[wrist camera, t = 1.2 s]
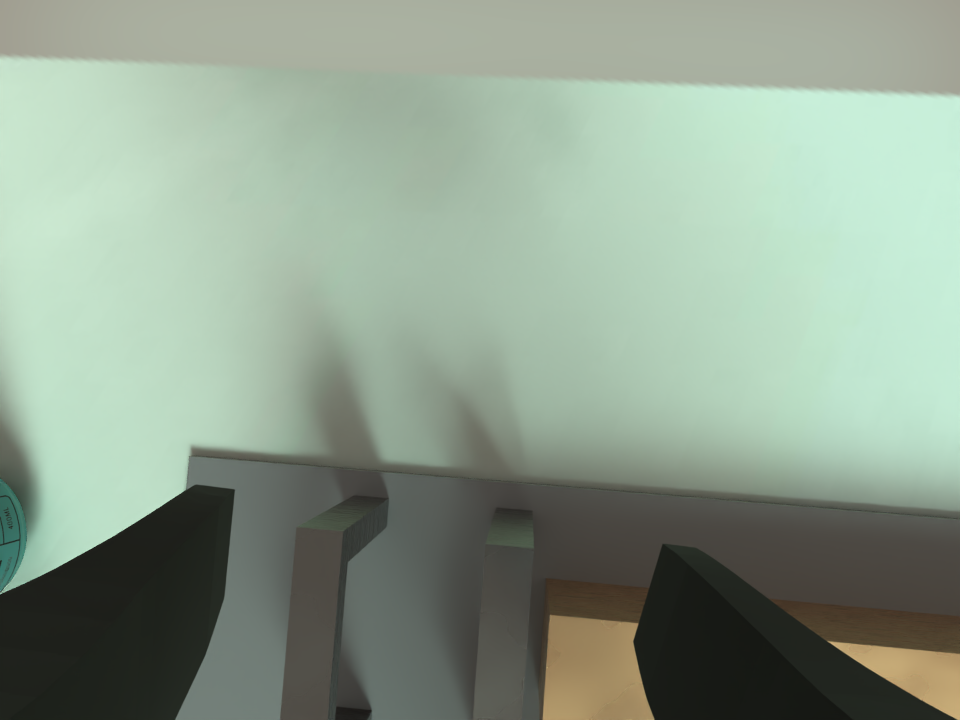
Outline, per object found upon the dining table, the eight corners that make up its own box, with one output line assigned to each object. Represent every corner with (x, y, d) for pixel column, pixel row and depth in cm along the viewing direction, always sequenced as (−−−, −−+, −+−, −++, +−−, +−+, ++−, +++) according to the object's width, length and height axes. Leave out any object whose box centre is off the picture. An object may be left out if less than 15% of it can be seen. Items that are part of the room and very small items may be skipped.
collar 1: (389, 498, 30) (342, 531, 23) (369, 740, 30) (316, 855, 22) (353, 495, 30) (296, 527, 23) (334, 736, 30) (268, 849, 22)
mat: (1122, 532, 28) (1130, 534, 28) (1112, 844, 28) (1120, 850, 27) (193, 455, 31) (189, 456, 31) (167, 738, 31) (162, 743, 30)
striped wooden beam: (1059, 624, 28) (1175, 673, 23) (1055, 744, 28) (1171, 820, 23) (546, 577, 29) (549, 614, 24) (538, 691, 29) (540, 751, 24)
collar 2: (532, 510, 30) (533, 548, 22) (515, 755, 29) (511, 879, 22) (496, 507, 30) (485, 543, 22) (478, 751, 29) (461, 873, 22)
